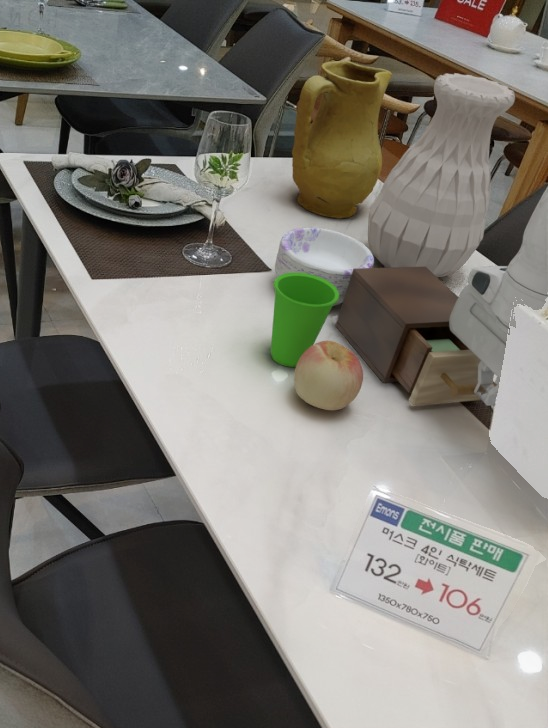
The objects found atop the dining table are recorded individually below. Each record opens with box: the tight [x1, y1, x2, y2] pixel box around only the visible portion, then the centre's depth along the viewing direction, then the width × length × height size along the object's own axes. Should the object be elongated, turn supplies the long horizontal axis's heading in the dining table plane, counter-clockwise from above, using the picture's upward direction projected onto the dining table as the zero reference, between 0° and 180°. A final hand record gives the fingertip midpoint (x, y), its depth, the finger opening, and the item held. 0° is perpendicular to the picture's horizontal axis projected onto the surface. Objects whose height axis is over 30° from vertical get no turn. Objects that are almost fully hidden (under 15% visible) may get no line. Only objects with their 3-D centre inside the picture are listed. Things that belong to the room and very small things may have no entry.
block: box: [426, 339, 460, 352], centre depth 107 cm, size 4×4×4 cm
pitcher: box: [291, 60, 393, 220], centre depth 147 cm, size 17×19×25 cm
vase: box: [367, 72, 516, 279], centre depth 129 cm, size 20×20×30 cm
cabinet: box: [335, 267, 459, 384], centre depth 113 cm, size 16×13×10 cm
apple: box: [293, 340, 364, 411], centre depth 101 cm, size 9×9×8 cm
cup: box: [270, 273, 339, 368], centre depth 108 cm, size 9×9×11 cm
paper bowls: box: [274, 226, 375, 307], centre depth 124 cm, size 15×15×8 cm
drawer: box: [391, 326, 497, 407], centre depth 107 cm, size 19×11×8 cm, turn 17°
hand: (484, 399), depth 99 cm, fingers closed
